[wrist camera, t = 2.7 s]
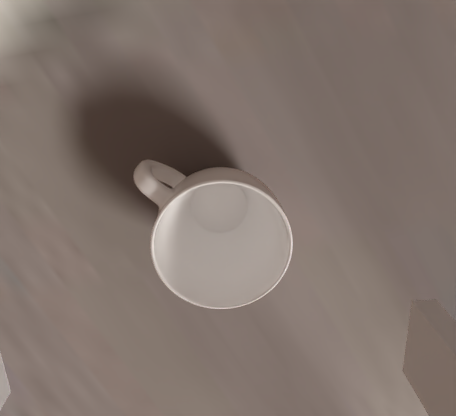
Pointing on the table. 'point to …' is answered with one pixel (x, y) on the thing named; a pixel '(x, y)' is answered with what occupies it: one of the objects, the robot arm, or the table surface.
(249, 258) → the cup
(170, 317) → the table surface
